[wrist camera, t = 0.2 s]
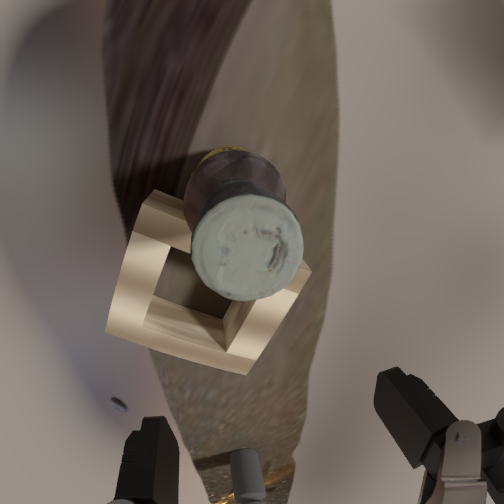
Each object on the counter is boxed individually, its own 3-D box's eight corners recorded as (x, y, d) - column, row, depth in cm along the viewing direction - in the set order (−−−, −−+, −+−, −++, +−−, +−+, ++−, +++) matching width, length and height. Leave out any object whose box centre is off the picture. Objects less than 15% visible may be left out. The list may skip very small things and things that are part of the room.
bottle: (262, 454, 50) (276, 514, 36) (239, 462, 51) (249, 521, 37) (247, 445, 48) (259, 511, 34) (223, 454, 48) (231, 517, 35)
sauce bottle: (271, 174, 29) (376, 253, 11) (229, 219, 30) (264, 357, 12) (223, 130, 26) (257, 124, 8) (180, 177, 28) (130, 267, 10)
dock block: (154, 189, 28) (142, 203, 22) (294, 247, 32) (311, 272, 27) (118, 300, 32) (104, 331, 26) (240, 341, 36) (246, 375, 31)
